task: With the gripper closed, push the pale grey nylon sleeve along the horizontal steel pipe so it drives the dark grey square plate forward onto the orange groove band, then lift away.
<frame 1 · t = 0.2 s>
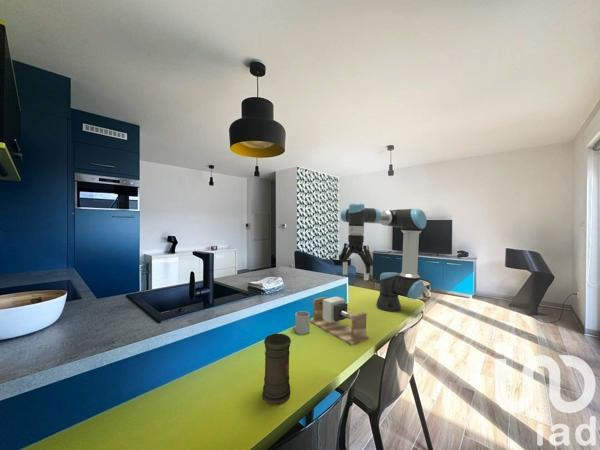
hand: (355, 277, 120), 29 cm above the countertop, fingers open, 13 cm apart
dark grey square plate: (340, 311, 123), point 10 cm above the countertop, slide at 0.0 cm
pipe: (337, 310, 125), point 9 cm above the countertop
cup: (300, 330, 124), on the countertop
sleeve: (333, 308, 127), point 10 cm above the countertop, slide at 0.0 cm
stand: (337, 329, 125), on the countertop
container: (276, 395, 78), on the countertop
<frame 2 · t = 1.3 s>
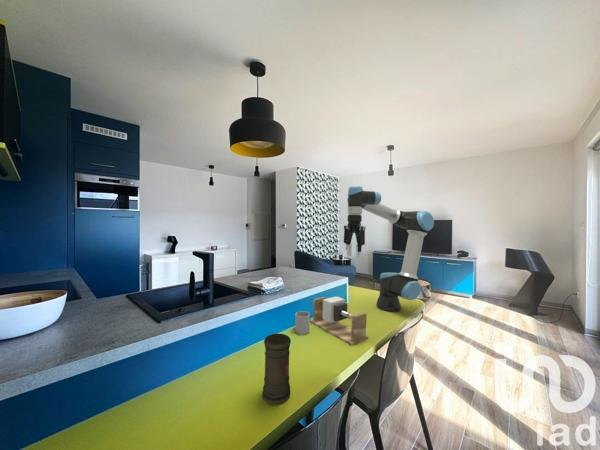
hand: (353, 257, 132), 37 cm above the countertop, fingers open, 6 cm apart
nothing on the countertop moved.
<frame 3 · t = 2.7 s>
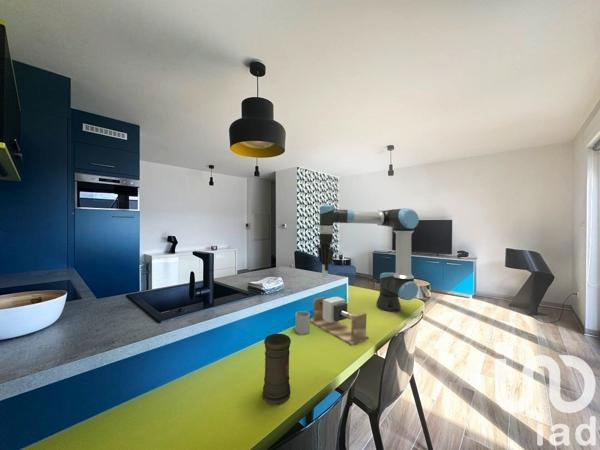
hand: (324, 276, 133), 26 cm above the countertop, fingers closed
nothing on the countertop moved.
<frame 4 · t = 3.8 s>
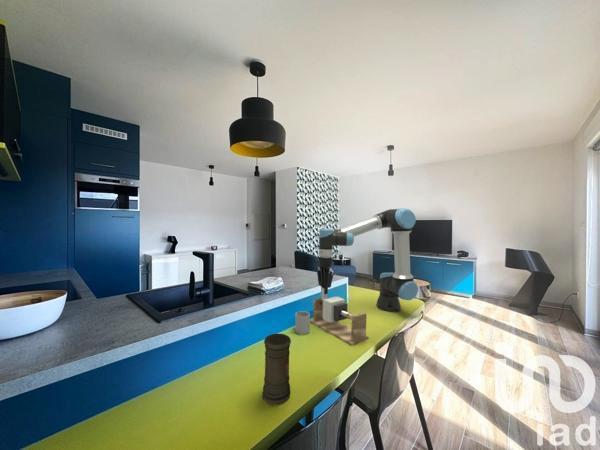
hand: (324, 299, 133), 13 cm above the countertop, fingers closed
nothing on the countertop moved.
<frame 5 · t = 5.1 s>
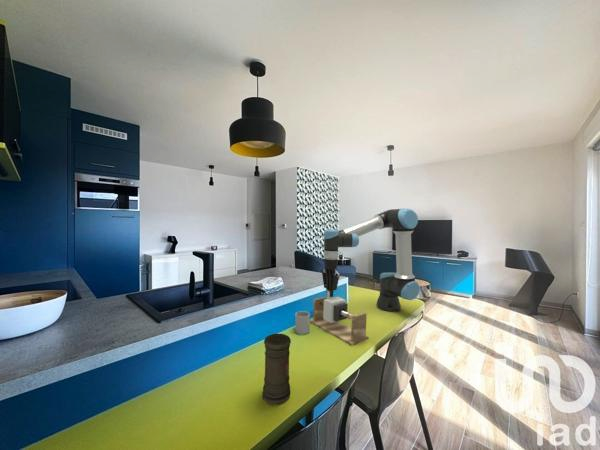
hand: (329, 302, 130), 13 cm above the countertop, fingers closed
sleeve: (334, 309, 127), point 10 cm above the countertop, slide at 0.6 cm, touching gripper
everything else where it was.
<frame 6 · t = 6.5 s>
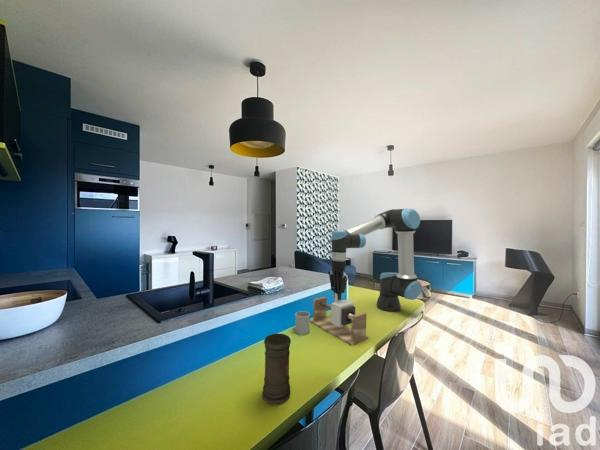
hand: (337, 305, 125), 13 cm above the countertop, fingers closed
dark grey square plate: (348, 315, 119), point 10 cm above the countertop, slide at 5.3 cm, touching sleeve
sleeve: (342, 312, 122), point 10 cm above the countertop, slide at 6.3 cm, touching gripper, dark grey square plate
everything else where it was.
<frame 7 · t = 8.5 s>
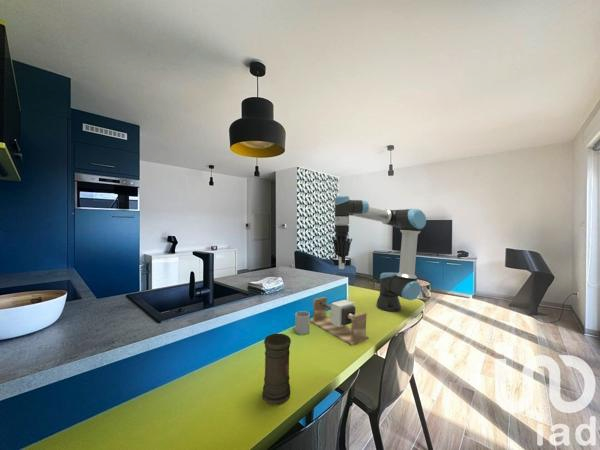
hand: (341, 268, 129), 31 cm above the countertop, fingers closed
sleeve: (342, 312, 122), point 10 cm above the countertop, slide at 6.3 cm, touching dark grey square plate
everything else where it was.
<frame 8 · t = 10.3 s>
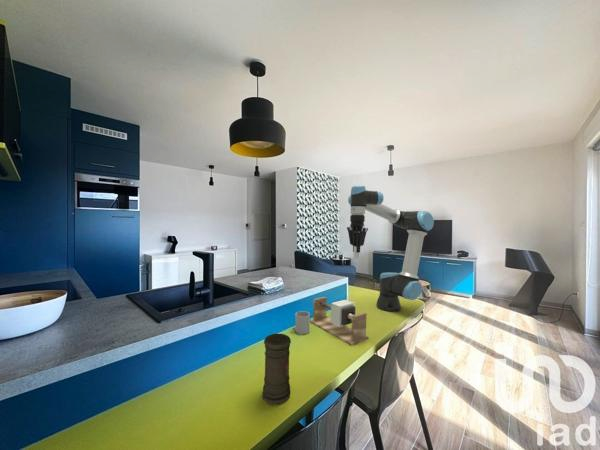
hand: (356, 258, 131), 36 cm above the countertop, fingers closed
nothing on the countertop moved.
at the end: dark grey square plate slide at 5.3 cm; sleeve slide at 6.3 cm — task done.
